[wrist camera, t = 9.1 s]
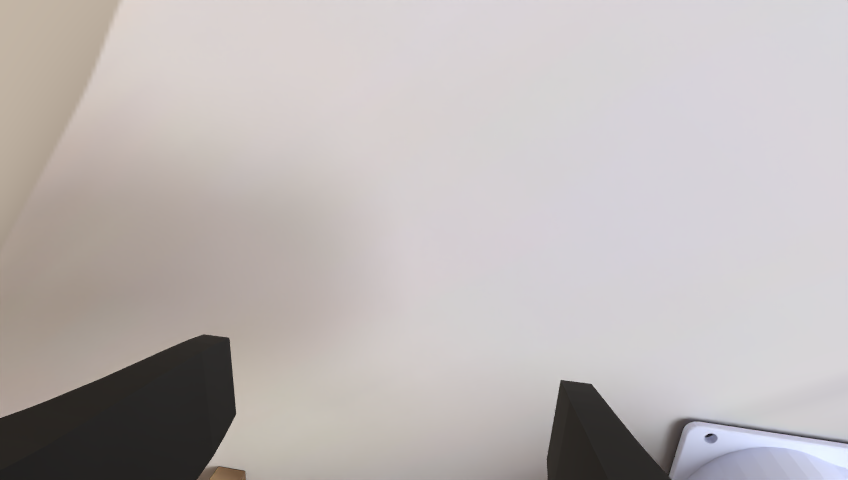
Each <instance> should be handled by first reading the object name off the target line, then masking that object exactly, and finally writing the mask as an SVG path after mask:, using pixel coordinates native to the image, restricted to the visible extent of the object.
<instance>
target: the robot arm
mask: <svg viewBox="0 0 848 480" xmlns="http://www.w3.org/2000/svg"><path fill="white" fill-rule="evenodd" d="M235 415H236V407H235V396H234V385H233V374H232V363H231V351H230V340H229V338H227V337H219V336H211V335H201V336H198V337H195V338H192V339H190V340H187V341H185V342H182V343H180V344H178V345H175V346H173V347H171V348H169V349H166V350H164V351H162V352H160V353H157V354H155V355H153V356H151V357H148V358H146V359H144V360H142V361H140V362H137V363H135V364H133V365H131V366H128V367H126V368H124V369H122V370H119V371H117V372H115V373H113V374H110V375H108V376H106V377H104V378H101V379H99V380H97V381H94V382H92V383H89V384H87V385H84V386H82V387H80V388H77V389H75V390H72V391H70V392H68V393H65V394H63V395H60V396H58V397H56V398H53V399H51V400H48V401H46V402H43V403H41V404H38V405H35V406H33V407H30V408H27V409H25V410H22V411H19V412H16V413H14V414H11V415H8V416H5V417H2V418H0V480H197V478H198V477H199V476H200V474H201V473H202V471H203V470H204V469H205V467H206V466H207V464H208V463H209V461H210V460H211V459H212V457H213V456H214V454H215V452H216V450H217V449H218V447H219V445H220V443H221V442H222V440H223V438H224V436H225V434H226V433H227V431H228V429H229V427H230V425H231V423H232V421H233V419H234V417H235ZM711 433H713V435H712V436H710V437H705V436H706V435H707V434H711ZM547 471H548V480H848V444H844V443H838V442H831V441H824V440H818V439H811V438H804V437H798V436H791V435H784V434H778V433H771V432H765V431H758V430H751V429H745V428H738V427H731V426H725V425H718V424H711V423H705V422H691V423H688V424H687V425H686V426H685V427H684V429H683V432H682V435H681V438H680V442H679V445H678V448H677V451H676V454H675V458H674V461H673V464H672V467H671V471H670V474H669V476H668V475H667V474H666V473H665V472H664V471H663V470H662V469H661V468H660V466H659V465H658V464H657V463H656V462H655V461H654V460H653V459H652V458H651V456H650V455H649V454H648V453H647V452H646V451H645V449H644V448H643V447H642V446H641V445H640V444H639V442H638V441H637V440H636V439H635V438H634V436H633V435H632V434H631V433H630V432H629V430H628V429H627V428H626V427H625V425H624V424H623V423H622V422H621V420H620V419H619V418H618V417H617V415H616V414H615V413H614V412H613V410H612V409H611V408H610V407H609V405H608V404H607V403H606V402H605V400H604V399H603V398H602V397H601V395H600V394H599V393H598V392H597V390H596V389H595V388H594V387H593V385H592V384H587V383H579V382H572V381H564V380H561V382H560V387H559V393H558V399H557V404H556V410H555V416H554V422H553V427H552V433H551V439H550V445H549V450H548V456H547Z"/></svg>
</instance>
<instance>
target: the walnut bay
mask: <svg viewBox="0 0 848 480" xmlns="http://www.w3.org/2000/svg"><path fill="white" fill-rule="evenodd" d="M209 480H246V477H245V471H241V470H235V469H230V468H224V467H218V468H217V469H216V471H215V472H214V474H213V475H212V477H211V478H210V479H209Z"/></svg>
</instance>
